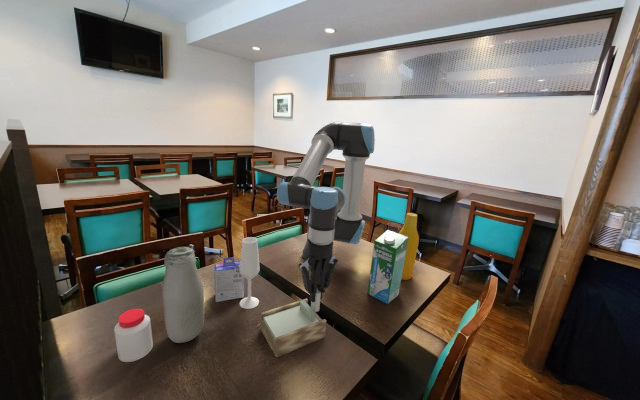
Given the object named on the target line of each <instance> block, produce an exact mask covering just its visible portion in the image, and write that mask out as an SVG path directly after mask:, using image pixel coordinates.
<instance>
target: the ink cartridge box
mask: <svg viewBox="0 0 640 400" xmlns="http://www.w3.org/2000/svg"><path fill="white" fill-rule="evenodd" d="M239 269H240V260H239V261H235V257H233V256H232V257H224V258H223V263H217V264H216V263H215V264H214V291H215V292H214V293H215V295H214V296H215V303H219V302H224V301H229V300H235V299H241V298H242V299H243V298H245V295H244V293H245V285H244V284H245V277H243V276H242V275H241V273H240V271H239Z"/></svg>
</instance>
